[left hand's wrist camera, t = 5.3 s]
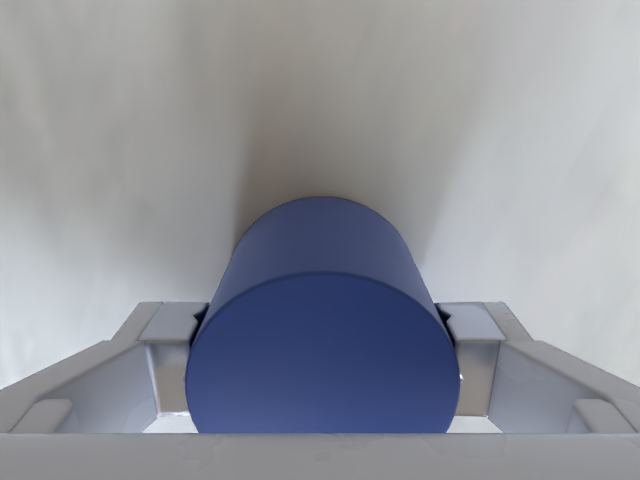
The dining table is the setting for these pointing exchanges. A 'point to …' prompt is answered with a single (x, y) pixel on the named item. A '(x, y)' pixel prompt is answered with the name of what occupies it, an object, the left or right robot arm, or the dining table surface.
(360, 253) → the canister
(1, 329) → the dining table surface
